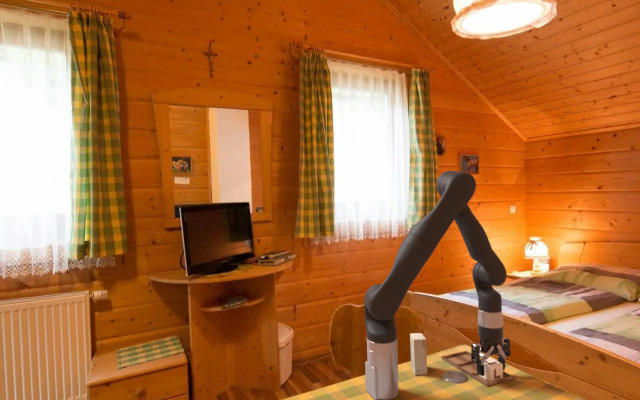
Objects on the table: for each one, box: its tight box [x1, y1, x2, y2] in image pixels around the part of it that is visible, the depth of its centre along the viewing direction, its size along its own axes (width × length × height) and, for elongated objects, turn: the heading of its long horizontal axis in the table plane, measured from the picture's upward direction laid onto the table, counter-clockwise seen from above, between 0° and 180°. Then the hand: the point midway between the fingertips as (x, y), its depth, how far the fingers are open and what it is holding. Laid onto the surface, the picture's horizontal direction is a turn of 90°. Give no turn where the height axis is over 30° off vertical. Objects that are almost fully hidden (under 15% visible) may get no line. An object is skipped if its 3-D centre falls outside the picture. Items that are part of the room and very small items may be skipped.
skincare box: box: [409, 332, 428, 376], centre depth 135 cm, size 6×4×12 cm
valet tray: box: [440, 350, 515, 387], centre depth 135 cm, size 11×22×1 cm, turn 21°
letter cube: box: [479, 357, 503, 382], centre depth 129 cm, size 5×5×5 cm
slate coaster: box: [441, 370, 468, 384], centre depth 130 cm, size 8×8×1 cm
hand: (491, 372), depth 129 cm, fingers open, 8 cm apart
